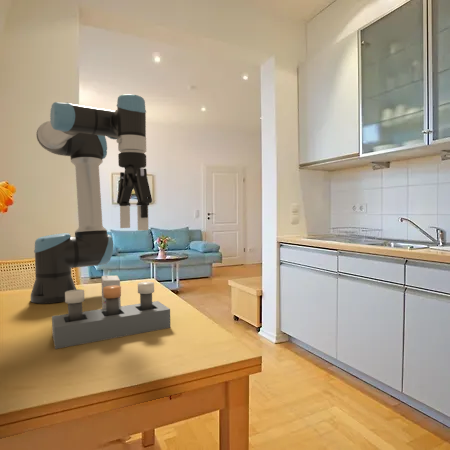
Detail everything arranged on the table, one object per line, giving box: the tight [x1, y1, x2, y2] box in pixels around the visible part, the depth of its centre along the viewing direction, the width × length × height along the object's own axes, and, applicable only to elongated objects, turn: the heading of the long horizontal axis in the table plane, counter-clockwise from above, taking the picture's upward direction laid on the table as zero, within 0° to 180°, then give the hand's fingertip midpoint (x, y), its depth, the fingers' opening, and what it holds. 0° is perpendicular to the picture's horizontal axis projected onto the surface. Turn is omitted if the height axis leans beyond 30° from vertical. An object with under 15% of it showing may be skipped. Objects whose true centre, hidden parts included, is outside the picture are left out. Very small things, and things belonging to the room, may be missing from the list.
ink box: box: [101, 274, 122, 309], centre depth 104 cm, size 8×5×12 cm, turn 23°
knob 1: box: [64, 289, 85, 322], centre depth 86 cm, size 4×4×7 cm
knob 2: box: [137, 281, 155, 311], centre depth 95 cm, size 4×4×7 cm
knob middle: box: [103, 285, 122, 316], centre depth 91 cm, size 4×4×7 cm
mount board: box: [51, 300, 171, 350], centre depth 91 cm, size 10×28×5 cm, turn 120°
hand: (133, 229), depth 98 cm, fingers open, 13 cm apart
